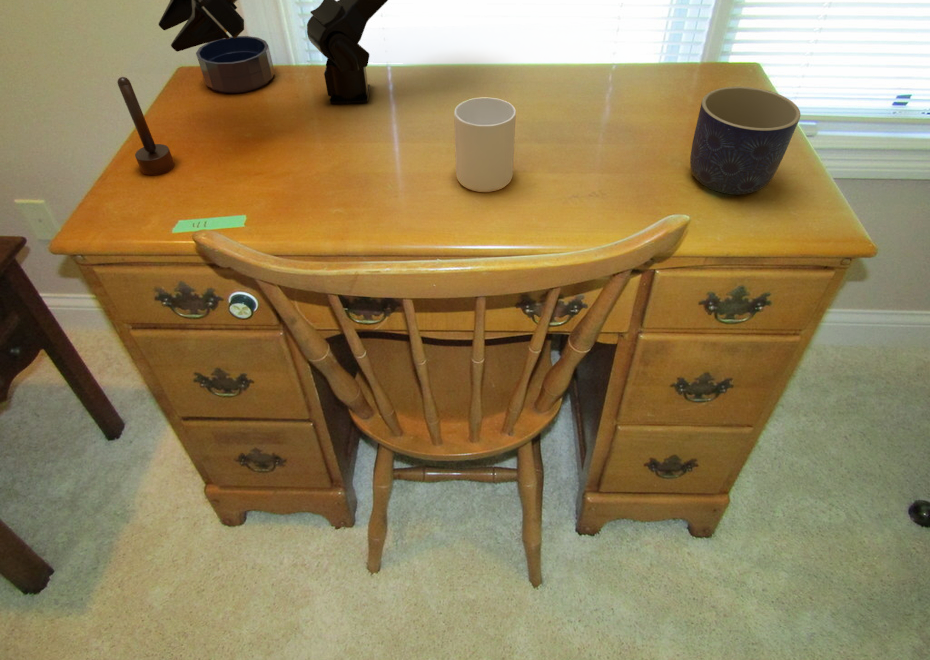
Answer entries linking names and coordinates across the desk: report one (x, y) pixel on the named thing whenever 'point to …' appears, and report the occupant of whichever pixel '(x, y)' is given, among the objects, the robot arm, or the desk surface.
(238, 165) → the desk surface
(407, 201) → the desk surface
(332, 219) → the desk surface
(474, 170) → the mug
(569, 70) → the desk surface
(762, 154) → the planter
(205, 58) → the bowl
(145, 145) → the brown plunger
